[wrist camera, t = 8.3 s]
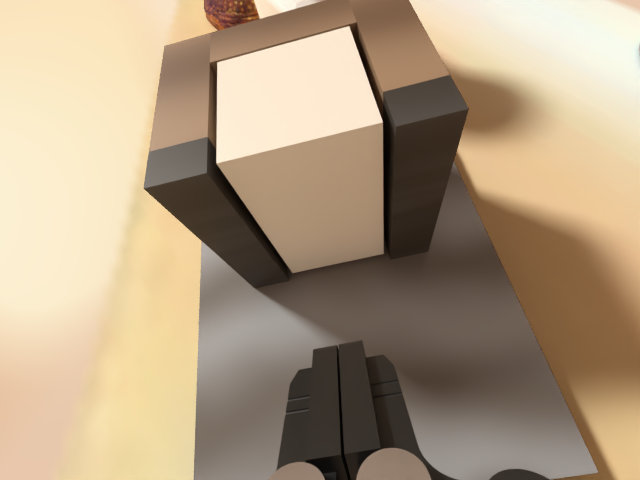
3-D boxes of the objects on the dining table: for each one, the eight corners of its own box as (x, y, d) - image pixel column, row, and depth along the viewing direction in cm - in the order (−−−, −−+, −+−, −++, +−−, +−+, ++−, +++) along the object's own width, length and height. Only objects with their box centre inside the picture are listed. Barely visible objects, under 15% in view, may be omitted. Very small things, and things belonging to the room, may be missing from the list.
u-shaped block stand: (581, 467, 13) (1068, 619, 4) (206, 521, 14) (-117, 732, 5) (427, 123, 22) (457, -73, 13) (212, 176, 24) (104, 31, 15)
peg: (383, 253, 17) (383, 122, 9) (292, 273, 17) (216, 163, 10) (363, 180, 19) (349, 25, 11) (283, 199, 20) (217, 62, 12)
